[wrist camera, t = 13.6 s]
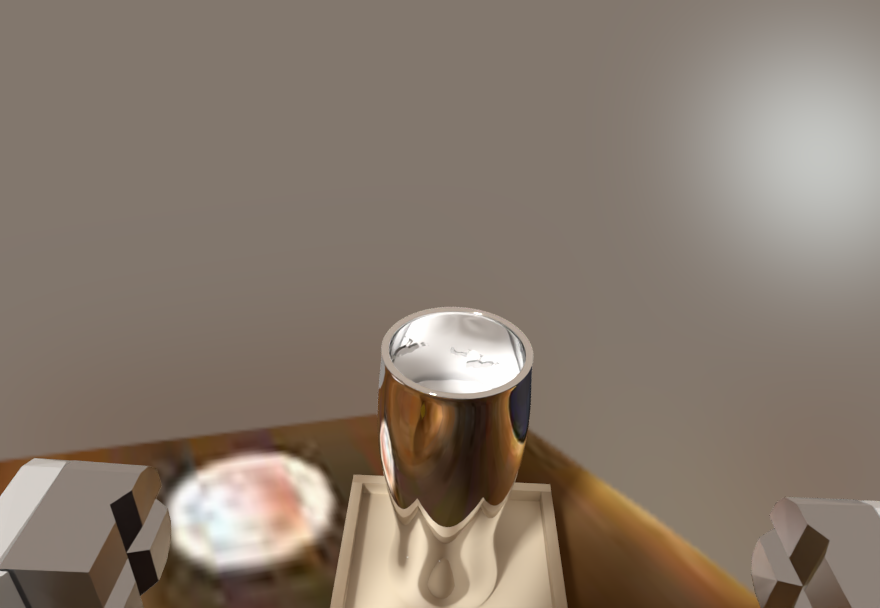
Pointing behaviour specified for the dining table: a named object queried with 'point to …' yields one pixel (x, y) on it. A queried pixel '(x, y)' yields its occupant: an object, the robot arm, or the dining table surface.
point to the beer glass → (450, 448)
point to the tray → (517, 541)
